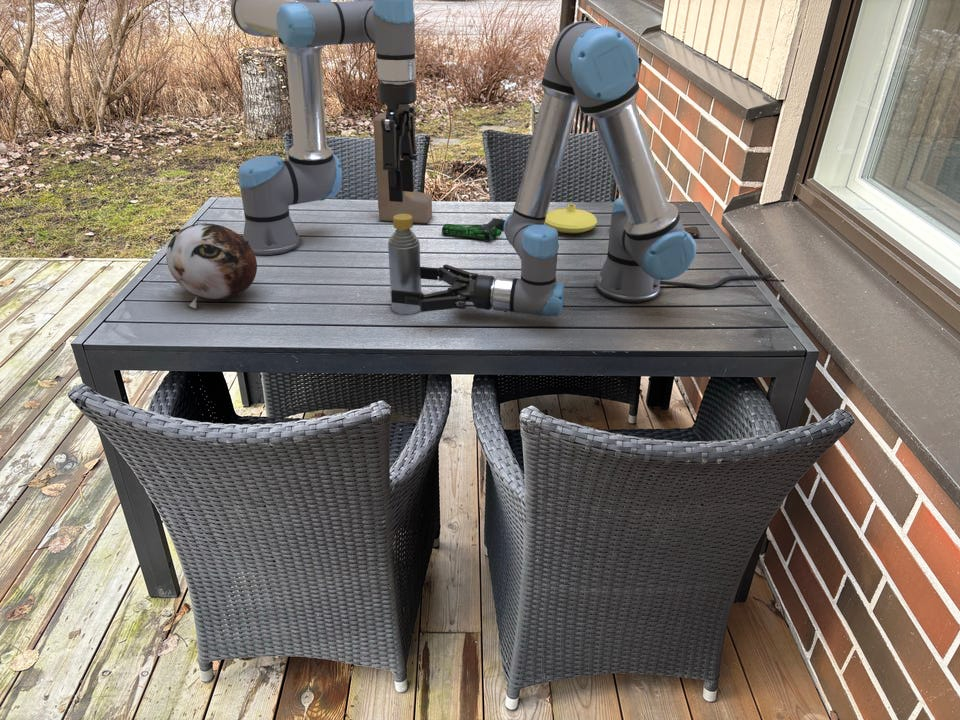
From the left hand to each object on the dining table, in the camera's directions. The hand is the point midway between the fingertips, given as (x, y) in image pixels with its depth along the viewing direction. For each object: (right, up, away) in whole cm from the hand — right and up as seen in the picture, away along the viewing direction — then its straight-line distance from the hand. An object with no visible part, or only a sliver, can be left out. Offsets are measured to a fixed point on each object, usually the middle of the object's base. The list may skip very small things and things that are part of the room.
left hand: (401, 195), depth 152 cm
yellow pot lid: (+43, +4, +59) cm, 73 cm away
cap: (0, -4, +3) cm, 5 cm away
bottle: (0, -23, +14) cm, 27 cm away
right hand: (-1, -18, +10) cm, 20 cm away
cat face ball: (-45, -20, +17) cm, 52 cm away
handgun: (+16, +2, +56) cm, 58 cm away
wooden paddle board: (+68, +2, +57) cm, 88 cm away
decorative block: (-6, +8, +65) cm, 66 cm away
